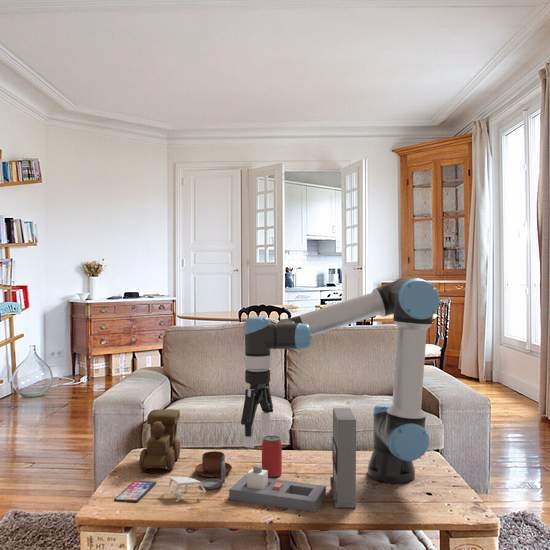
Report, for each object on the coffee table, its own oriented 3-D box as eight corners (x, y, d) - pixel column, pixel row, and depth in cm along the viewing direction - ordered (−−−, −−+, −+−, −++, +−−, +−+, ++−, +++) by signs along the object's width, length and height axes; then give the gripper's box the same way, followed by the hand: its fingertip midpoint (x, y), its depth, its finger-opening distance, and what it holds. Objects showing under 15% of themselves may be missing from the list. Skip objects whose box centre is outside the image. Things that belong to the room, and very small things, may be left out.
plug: (267, 493, 169) (267, 465, 169) (262, 498, 165) (262, 469, 165) (252, 491, 171) (252, 463, 171) (247, 496, 167) (247, 467, 167)
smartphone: (113, 499, 163) (134, 480, 178) (113, 502, 163) (134, 483, 178) (137, 500, 162) (156, 481, 177) (137, 504, 162) (156, 484, 177)
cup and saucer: (197, 467, 191) (197, 449, 191) (232, 466, 192) (232, 448, 192) (193, 480, 179) (193, 461, 179) (231, 480, 180) (231, 460, 180)
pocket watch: (196, 485, 175) (196, 453, 175) (219, 478, 180) (219, 447, 180) (211, 493, 169) (211, 460, 169) (234, 486, 174) (234, 454, 174)
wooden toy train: (150, 454, 204) (151, 408, 204) (182, 454, 204) (182, 408, 204) (137, 474, 184) (137, 424, 184) (171, 475, 184) (172, 424, 184)
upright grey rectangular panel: (329, 489, 172) (330, 407, 172) (349, 489, 172) (350, 407, 172) (334, 508, 159) (334, 420, 158) (356, 508, 159) (356, 420, 158)
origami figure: (162, 502, 162) (162, 485, 162) (169, 491, 171) (170, 474, 171) (203, 503, 162) (203, 486, 162) (209, 492, 170) (209, 476, 170)
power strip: (325, 495, 167) (325, 483, 167) (315, 512, 156) (315, 498, 156) (244, 484, 176) (244, 472, 176) (229, 499, 164) (229, 486, 164)
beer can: (282, 471, 187) (282, 435, 187) (280, 478, 181) (280, 441, 181) (262, 470, 188) (263, 434, 188) (260, 477, 182) (260, 440, 181)
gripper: (260, 361, 180) (260, 427, 181) (229, 376, 157) (229, 451, 157) (282, 363, 178) (283, 429, 178) (254, 377, 154) (254, 454, 155)
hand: (257, 440), depth 168 cm, fingers open, 13 cm apart
